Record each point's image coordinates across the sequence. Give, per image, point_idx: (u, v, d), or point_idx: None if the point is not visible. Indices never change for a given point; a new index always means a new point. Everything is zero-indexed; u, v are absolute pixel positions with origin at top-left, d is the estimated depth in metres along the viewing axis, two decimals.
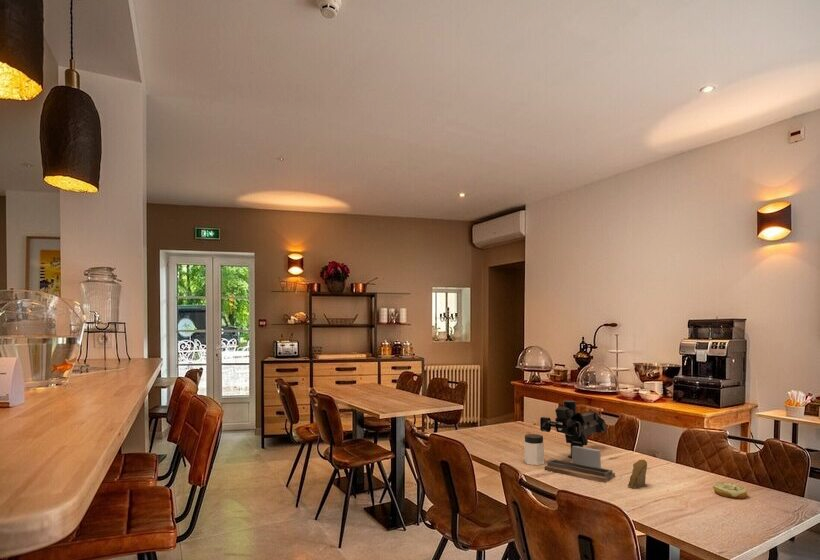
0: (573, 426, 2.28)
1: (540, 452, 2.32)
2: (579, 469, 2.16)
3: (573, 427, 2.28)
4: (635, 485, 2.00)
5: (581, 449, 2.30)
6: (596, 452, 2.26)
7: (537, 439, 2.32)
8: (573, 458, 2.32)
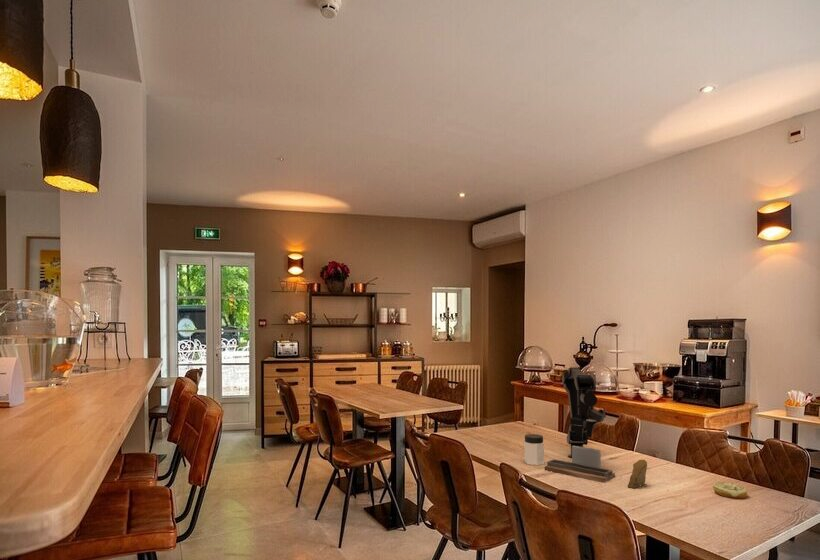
0: None
1: (540, 452, 2.32)
2: (579, 469, 2.16)
3: None
4: (635, 485, 2.00)
5: (581, 449, 2.30)
6: (596, 452, 2.26)
7: (537, 439, 2.32)
8: (573, 458, 2.32)
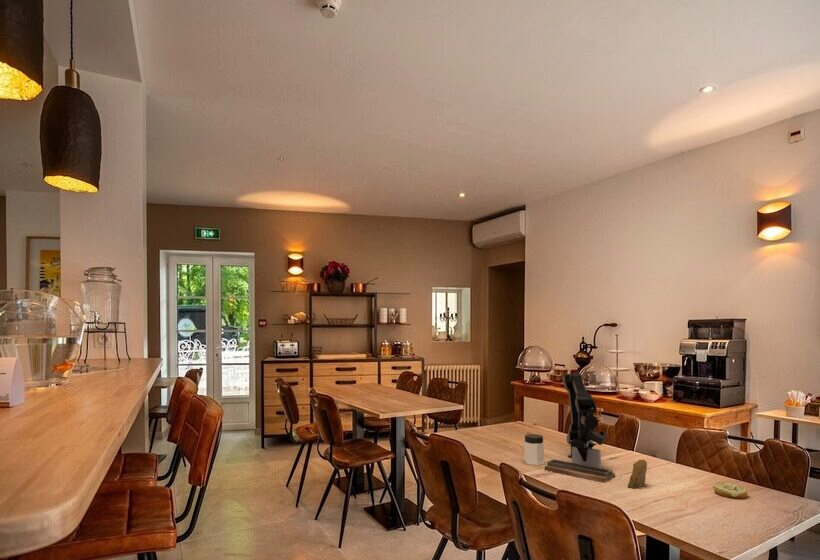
0: None
1: (540, 452, 2.32)
2: (579, 469, 2.16)
3: None
4: (635, 485, 2.00)
5: None
6: (596, 452, 2.26)
7: (537, 439, 2.32)
8: (573, 458, 2.32)
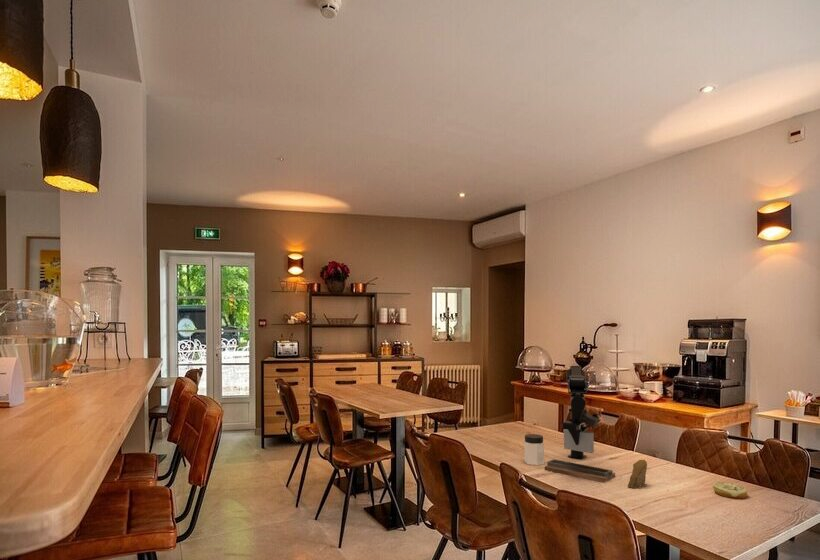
0: None
1: (540, 452, 2.32)
2: (579, 469, 2.16)
3: None
4: (635, 485, 2.00)
5: None
6: (589, 435, 2.16)
7: (537, 439, 2.32)
8: (565, 441, 2.23)
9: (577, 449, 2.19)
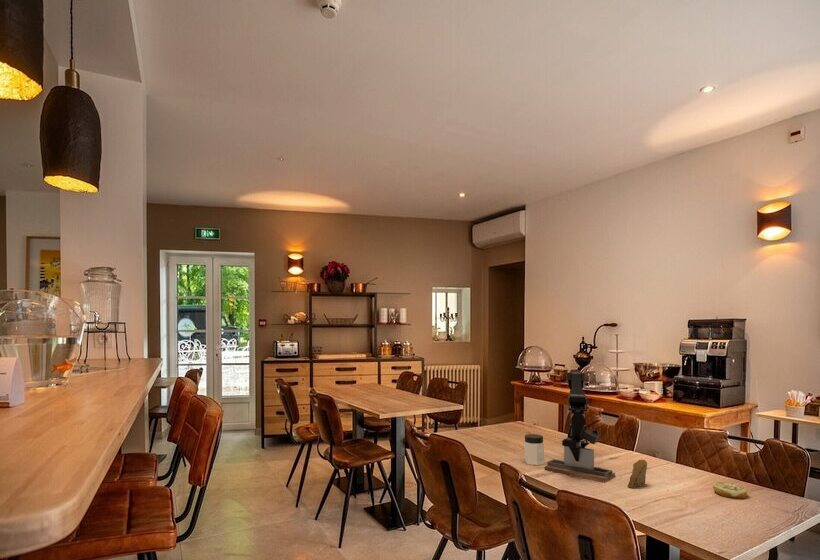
0: None
1: (540, 452, 2.32)
2: (579, 469, 2.16)
3: None
4: (635, 485, 2.00)
5: None
6: (589, 452, 2.16)
7: (537, 439, 2.32)
8: (565, 458, 2.22)
9: (577, 466, 2.19)
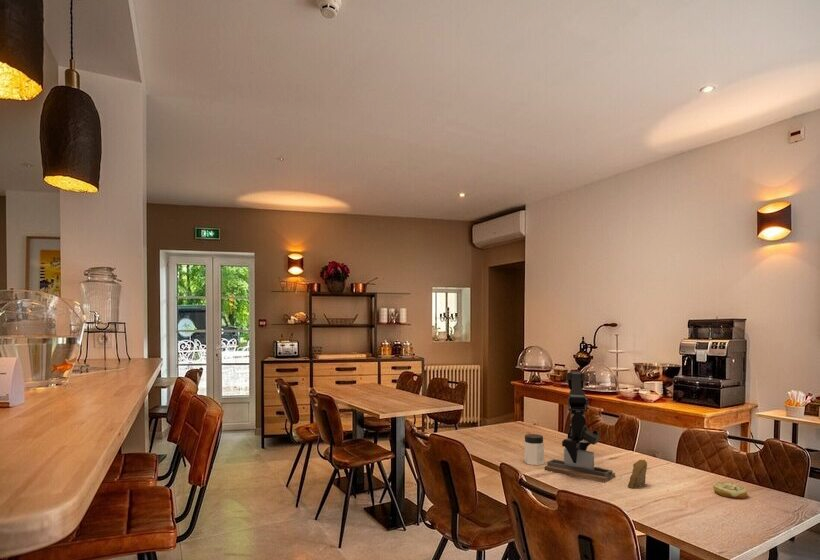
0: None
1: (540, 452, 2.32)
2: (579, 469, 2.16)
3: None
4: (635, 485, 2.00)
5: None
6: (589, 454, 2.15)
7: (537, 439, 2.32)
8: (565, 460, 2.22)
9: None
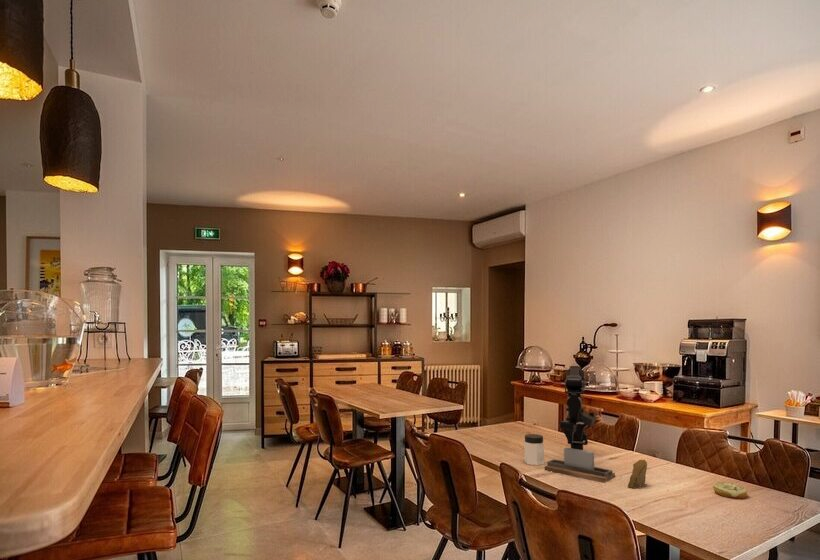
0: None
1: (540, 452, 2.32)
2: (579, 469, 2.16)
3: None
4: (635, 485, 2.00)
5: (574, 451, 2.20)
6: (589, 454, 2.15)
7: (537, 439, 2.32)
8: (565, 460, 2.22)
9: None
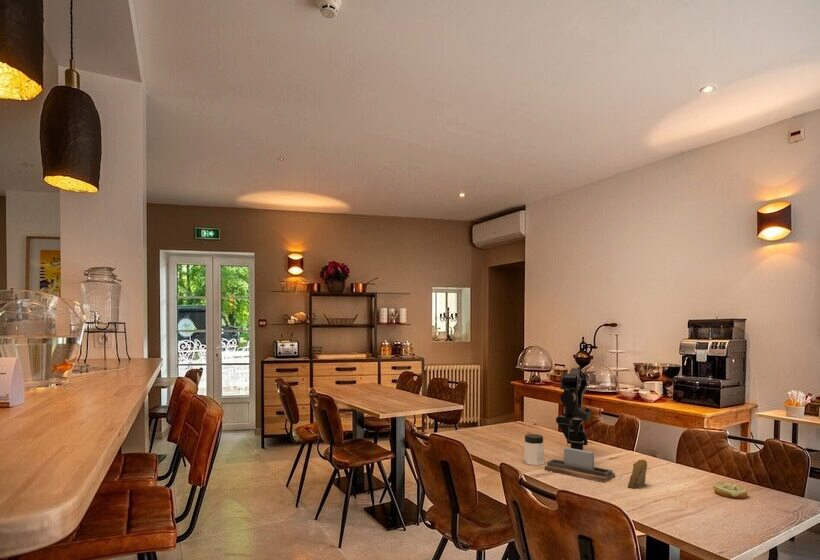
0: None
1: (540, 452, 2.32)
2: (579, 469, 2.16)
3: None
4: (635, 485, 2.00)
5: (574, 451, 2.20)
6: (589, 454, 2.15)
7: (537, 439, 2.32)
8: (565, 460, 2.22)
9: None
